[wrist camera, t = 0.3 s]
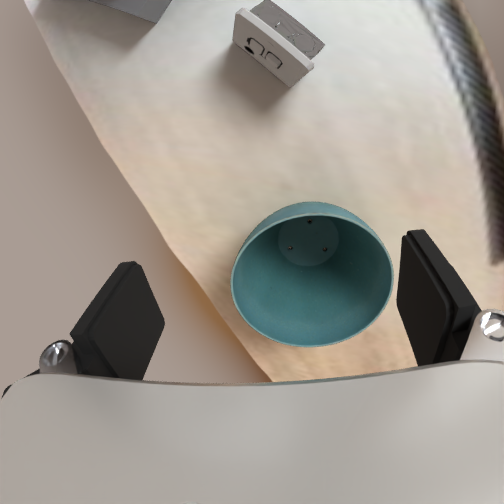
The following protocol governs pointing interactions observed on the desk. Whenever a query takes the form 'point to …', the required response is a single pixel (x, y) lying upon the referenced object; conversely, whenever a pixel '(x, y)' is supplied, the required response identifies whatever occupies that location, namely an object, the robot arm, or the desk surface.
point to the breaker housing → (139, 7)
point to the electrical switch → (276, 41)
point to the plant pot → (311, 276)
